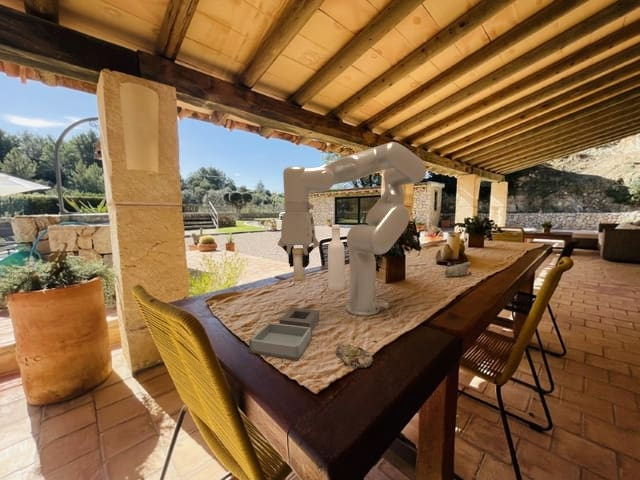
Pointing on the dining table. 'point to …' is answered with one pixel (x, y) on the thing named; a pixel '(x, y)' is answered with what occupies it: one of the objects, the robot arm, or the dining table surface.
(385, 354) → the dining table surface
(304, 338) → the tray
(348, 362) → the mineral rock
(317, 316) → the fuse holder
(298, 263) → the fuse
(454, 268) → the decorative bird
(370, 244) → the robot arm
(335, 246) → the bottle
